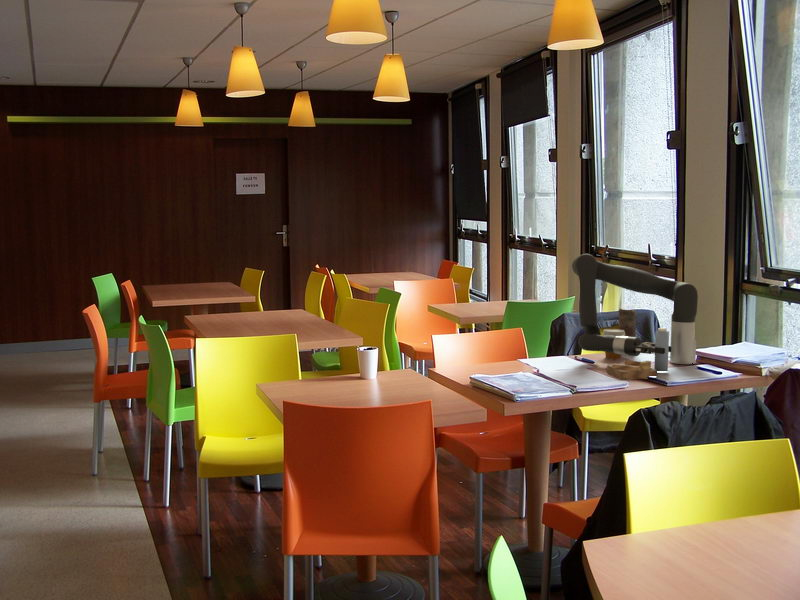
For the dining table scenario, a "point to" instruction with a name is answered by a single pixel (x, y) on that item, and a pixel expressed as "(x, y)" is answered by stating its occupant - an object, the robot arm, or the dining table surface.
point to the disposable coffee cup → (615, 333)
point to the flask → (661, 342)
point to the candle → (627, 322)
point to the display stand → (632, 370)
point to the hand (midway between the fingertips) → (668, 350)
